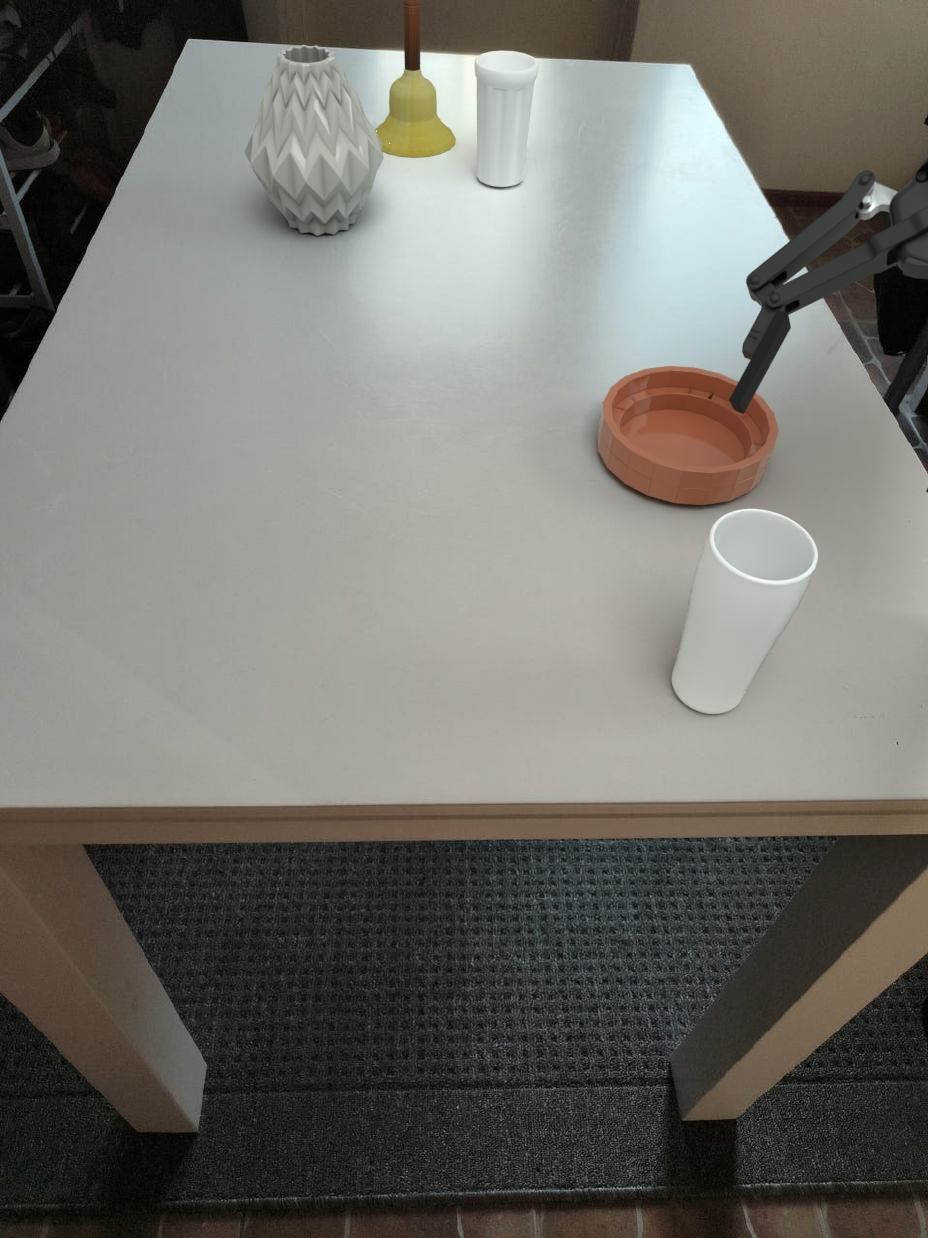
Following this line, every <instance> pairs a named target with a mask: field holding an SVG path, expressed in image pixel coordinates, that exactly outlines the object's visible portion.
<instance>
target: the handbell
mask: <svg viewBox="0 0 928 1238" xmlns="http://www.w3.org/2000/svg"><path fill="white" fill-rule="evenodd" d="M401 1H402V8H403V51H404V69H403V73H402V75H401V76H400V77H398V78H397V79H395V80H394V81H393V83H392V84H391V85H390V88H389V95H388V96H389V97H388V109H389V112H388V114H387V116H386V118H385V119H384V121H383V122H382V123H380V124H379V125H377V127H378V128H377V127H376V128H374V129H375V130H377V134H378V136H379V138H380V140H381V142H382V148H381V151H382V153H383V152H384V153H386V154H388V155H393V156H397V157H402V158H403V157H405V158H426V157H427V158H428V157H432V156H437V155H441V154H443V153H446V152H447V151H450V150H451V149H452V148H453V147H454V146H455V145H456V141H457V140H456V137H455V134H454V132H453V131H452V129H451V128H449V127H448V126H447V124H445V123H444V122H443V121H442V120H441V118H440V116H439V115H438V112H437V111H438V110H437V109H438V108H437V107H438V106H437V105H438V100H437V90H436V88H435V86H434V84H433V82H432V81H430V80H429V79H428V78H426V77H425V76H424V75H423V73H422V70H421V1H422V0H401ZM389 143H390V144H389Z"/></svg>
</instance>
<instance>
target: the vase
mask: <svg viewBox="0 0 928 1238" xmlns="http://www.w3.org/2000/svg"><path fill="white" fill-rule="evenodd" d="M336 56H337V55H336V53H335V52H334V51H330V49H329V48H328V47H324V48H323V47H322V48H320V46H318V44H316V45H312V46H308V45H306V44H302V45H300V46H298V47H297V46H292V45H291V46H290V47H289V48H288V49H281V50H280V53H277V55H276V63H275V64H274V65H273V67H272V70H271V71H272V72H271V75H270V77H269V79H268V80H267V83H266V84H265V85H264V87H263V91H262V96H261V101H260V106H259V111H258V114H257V115H258V116H257V117H256V119H255V120H254V122H253V125H252V128H251V130H250V134H249V136H248V140H247V142H246V145H245V148H244V155H245V156H246V158H247V160H248V162H249V165H250V168H251V169H252V171H253V172H254V175H255V176H256V178H257V179H258V181H259V182H260V183H261V185H262V187H263V189H264V191H265V194H266V195H267V197H268V199H269V201H270V202H271V204H272V206H273V207H274V209H276V210H279V212H280V213H281V214H282V215H283V217H285V220H286V221H287V222H288V223H287V224H288V226H289V228H292V229H298V231H299V232H300V234H307V233H311V234H313V235H315V236H316V237H318V236H321V235H323V234H329V235H336V234H337V233H338V232H339V231H349V228H350V225H352V224H356V222H357V217H358V213H360V212H361V210H362V209H363V207H364V205H365V203H366V201H367V199H368V197H369V196H370V194H371V192H372V189H373V186H374V183H375V179H376V176H377V172H378V170H379V169H380V166H381V164H382V163H383V161H384V155H383V151H381V148H382V142H381V140H380V138H379V136H378V134H377V132H376V130H375V129H376V128H375V127H374V125H372V123H371V122H370V120H369V119H368V117H367V116H366V114H365V111H364V108H363V106H362V103H361V101H360V98H359V95H358V92H357V90H356V89H355V88H354V86H352V83H351V82H350V81H349V79H348V78H347V77H346V74H345V71H344V68H342V67H341V65H340V63H339V62H338V61H337V57H336Z"/></svg>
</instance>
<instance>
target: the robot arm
mask: <svg viewBox="0 0 928 1238" xmlns="http://www.w3.org/2000/svg"><path fill="white" fill-rule="evenodd" d="M881 212H886V213H888V223H889V227H887V228H885V229H883V230H880V232H878V233H875V234H874V235H872V236H871V237H870V238H869V239H868V240H867V241H865V242H864V243H862V244H860V245H858V246H856V247H854V248H852V249H850V250H849V251H847V252H844V253H842V254H840V255H839V256H837V257H834V258H833V259H831V260H828V261H827V262H825V263H822V264H821V265H819V266H817V267H814V268H813V269H811V270H809V271H807V272H805V273H803V274H801V275H799V276H796V275H797V274H798V273H800V271H802V270H804V268H805V267H808V265H809V264H810V263H812V262H813V261H814V260H815V259H817V258H819V256H820V255H822V254H823V253H825V252H826V251H827V250H828V249H830V248H831V247H832V246H833V245H835V244H836V243H837V242H838V241H839V240H841V239H842V238H843V237H845V236H846V235H847V234H848V233H850V231H851V230H852V229H854V227H856V225H857V224H858V223H859V222H860V221H861V220H862V221H868V220H870V219H872V218H873V217H874V216H875V215H876V214H878V213H881ZM895 266H897V267H898V268H899V269H900V270H901V271H902V275H904V276H906V277H910V278H912V279H923V280H928V151H927V152H926V153H925V156H924V158H923V159H922V161H921V163H920V164H919V167H918V168H917V170H916V172H915V173H914V175H913V177H912V178H911V180H910V181H909V182H908V183H907V184H906V185H905V186H904V187H902V188H901V189H900V190H895V189H893V188H890V187H888V186H886V185H883V184H881V183H880V182H877V181H876V175H875V173H874V172H873V171H871V170H863V171H861V172H859V173H858V174H857V175H856V177H855V178H854V179H853V180H852V182H851V184H850V185H849V186H848V188H847V189H846V191H845V193H844V195H842V196H841V199H840V200H839V201H837V202H836V203H834V204H833V205H832V206H831V207H830V208H828V209H827V210H826V211H825V212H823V213H822V214H821V215H820V216H818V218H816V219H815V220H814V221H813V222H811V223H810V224H809V225H807V226H806V228H804V229H803V230H802V231H800V232H799V233H798V234H797V235H795V236H794V237H793V238H792V239H790V240H789V241H788V242H787V243H786V244H784V245H783V246H782V247H780V248H779V249H778V250H777V251H775V252H774V253H773V254H772V255H770V256H769V257H768V258H767V259H765V261H763V262H762V263H761V264H760V265H758V266H757V267H756V268H754V269H753V270H752V271H751V272H750V273H749V274H748V275H747V276H746V279H745V284H746V287H747V291H748V293H749V297H750V299H751V300H752V301H753V302H756V303H757V304H758V305H759V306H760V307H761V308H760V311H759V313H758V315H757V316H756V318H755V319H754V322H753V324H752V325H751V327H750V329H749V331H748V333H747V335H746V337H745V338H744V340H743V343H742V348H741V352H742V355H743V357H744V359H747V360H749V362H748V364H747V365H746V367H745V368H744V371H743V373H742V375H741V377H740V378H739V380H738V384H737V386H736V388H735V390H734V391H733V393H732V395H731V397H730V399H729V401H730V403H731V405H732V407H733V409H734V410H735V411H737V412H740V413H742V414H744V413H745V411H746V409H747V407H748V405H749V404H750V402H751V400H752V398H753V396H754V394H755V393H757V391H758V389H759V387H760V386H761V383H762V381H763V380H764V379H765V376H766V374H767V373H768V371H769V370H770V369H769V368H770V367H771V365H772V363H773V361H774V360H775V358H776V356H777V354H778V353H779V351H780V349H781V347H782V345H783V343H784V341H785V340H786V337H787V336H788V334H789V332H790V330H791V329H792V326H791V320H790V315H792V314H793V313H795V312H798V311H800V310H802V309H804V308H806V307H808V306H810V305H812V304H814V303H816V302H818V301H819V300H822V299H824V298H826V297H828V296H830V295H832V294H834V293H836V292H838V291H841V290H842V289H844V288H846V287H847V286H850V285H853V284H855V283H857V282H858V281H860V280H862V279H864V278H866V277H868V276H871V275H873V274H880V273H882V272H884V271H886V270H889V269H891V268H893V267H895ZM795 276H796V277H795ZM793 277H795V278H793ZM792 278H793V279H792ZM790 279H791V280H790ZM925 493H928V487H927V488H926V490H925Z"/></svg>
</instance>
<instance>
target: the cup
mask: <svg viewBox="0 0 928 1238" xmlns="http://www.w3.org/2000/svg"><path fill="white" fill-rule="evenodd" d="M539 67H540V63H539V61H538V59H536V58H535V57H534V56H532V55H531V54H527V53H525V52H520V51H515V50H493V51H491V50H490V51H487V52H484V53H481V54H479V55H478V56H476V57H475V60H474V76H475V78H476V178H477V179H478V180H479V182H481V183H483V184H485V185H487V186H492V187H500V188H504V187H505V188H506V187H507V188H508V187H513V186H516V185H518V184H521V182H522V181H523V180H524V170H525V163H526V154H527V146H528V138H529V130H530V121H531V112H532V105H533V97H534V90H535V82H536V80H537V78H538V74H539Z"/></svg>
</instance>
